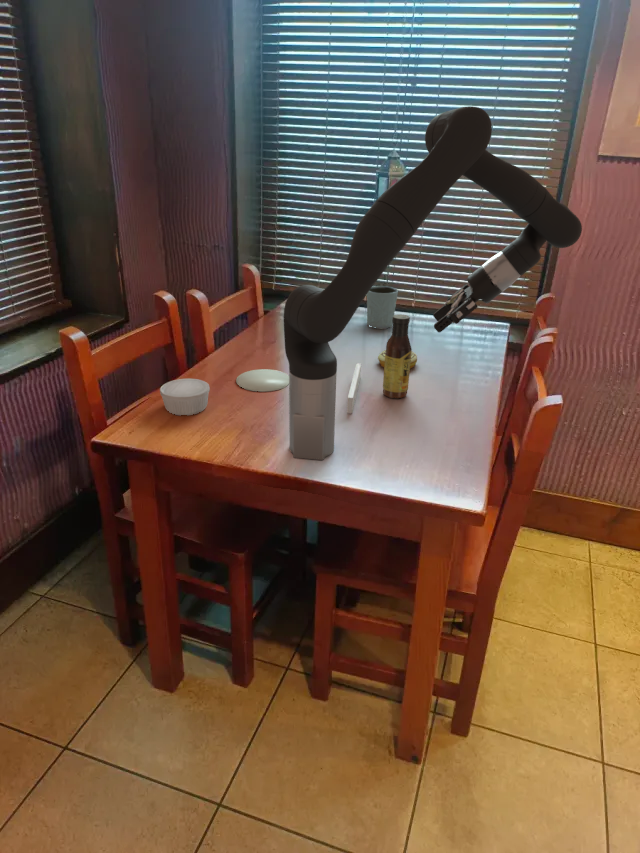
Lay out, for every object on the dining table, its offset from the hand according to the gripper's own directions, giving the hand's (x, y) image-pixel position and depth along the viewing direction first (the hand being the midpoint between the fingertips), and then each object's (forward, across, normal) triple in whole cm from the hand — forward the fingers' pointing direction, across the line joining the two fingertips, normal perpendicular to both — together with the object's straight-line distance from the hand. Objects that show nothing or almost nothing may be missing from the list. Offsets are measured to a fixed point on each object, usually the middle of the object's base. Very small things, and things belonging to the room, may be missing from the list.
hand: (435, 323), depth 139 cm
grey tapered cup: (+24, -56, +3) cm, 61 cm away
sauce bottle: (+19, 0, +8) cm, 21 cm away
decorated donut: (+19, -21, +8) cm, 29 cm away
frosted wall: (+26, +2, +1) cm, 26 cm away
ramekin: (+53, +17, -26) cm, 62 cm away
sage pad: (+43, -2, -16) cm, 46 cm away
